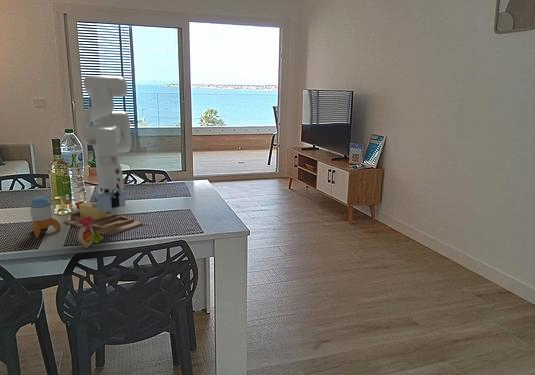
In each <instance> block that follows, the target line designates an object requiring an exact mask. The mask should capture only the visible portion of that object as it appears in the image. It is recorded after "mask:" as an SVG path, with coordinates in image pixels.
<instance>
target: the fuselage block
mask: <svg viewBox="0 0 535 375" xmlns="http://www.w3.org/2000/svg"><path fill="white" fill-rule="evenodd" d="M78 207H79V211H80V218H83V217H84V218H87V217H89V216H91V219H94V220H95V219H98V218H102V217H105V216H107V214H108V213H107V212H108V211H105V212H103V211H99V210H97V201H96V202H89V201H87V202H86V201H85V202H82V203H79V204H78Z"/></svg>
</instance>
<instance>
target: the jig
mask: <svg viewBox="0 0 535 375" xmlns="http://www.w3.org/2000/svg"><path fill="white" fill-rule="evenodd" d="M81 219H82V218H80V210H78V211H75V212H71V213H70V219H66V220H63V223H64V224H66V225H71V226H73V227H77V228H79V229H80V228H81V227H82V226H83V224H80V223H79V220H81ZM140 225H141V226H143V225H144V222H141V221H138V220H135V218H133V217H127V216H125V215H124V214H121V215H117V213H112V214H110V213H107V216H105V217H102V218H98V219H95V220H94V221H93V222H92V223H91V224H90V227H92V229H93V231H98V232H99V234H101V233H102V234H101V235H104V234H105V235H106V236H108V237H112V236H114V234H115V235H117V233H118V234H119V233H120V232H121V233H123V232H126V231H129V230H132V229H134V227H135V228H138V227H141V226H140ZM137 226H138V227H137ZM105 235H104V236H105ZM111 235H112V236H111Z"/></svg>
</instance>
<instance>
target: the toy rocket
mask: <svg viewBox="0 0 535 375" xmlns="http://www.w3.org/2000/svg"><path fill="white" fill-rule="evenodd" d="M29 210H30V211H29V212H30V216H31V220H32V222H33V223H32V227H33V231H34V236H35V238H36V239H38V238H39V236H40V233H41V232H42V233H43V232H47V231H48V230H49V227H53V228H54V229H55V230H57V231H59V232H60V231H61V227H62V226H61V223H60V221H59V220H57V219H56V218H54V217H53V210H52V205H51V202H50V201H49V199H48V198H47V197H45V196H36V197H35V198H33V199H32V201H31V203H30V209H29Z"/></svg>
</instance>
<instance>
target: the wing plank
mask: <svg viewBox="0 0 535 375" xmlns="http://www.w3.org/2000/svg"><path fill="white" fill-rule="evenodd" d="M114 192H116V191H114ZM96 198H97V199H96ZM111 198H113V197H112V193H111V192H107V193H103V194H98V193H97V194H96V195H95V199H96V202H97V210H99V211H103V212H105V211H107V212H109V211H111V210H116V209H119V208H123V207H126V194H125V190H124V191H123V192H122V193H121V194H120V197H119V204H120V206H119V207H116V208H112V201H111Z"/></svg>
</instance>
